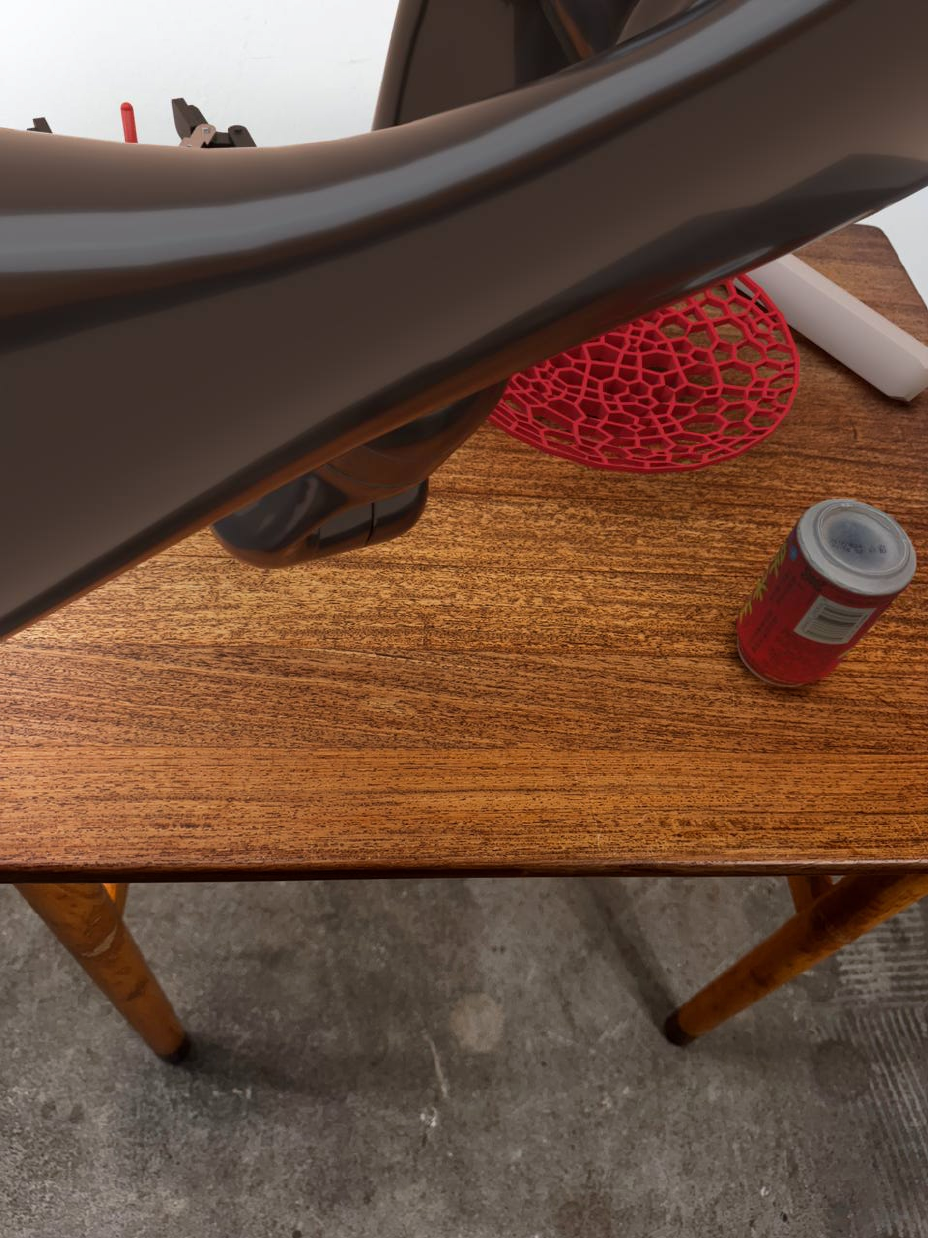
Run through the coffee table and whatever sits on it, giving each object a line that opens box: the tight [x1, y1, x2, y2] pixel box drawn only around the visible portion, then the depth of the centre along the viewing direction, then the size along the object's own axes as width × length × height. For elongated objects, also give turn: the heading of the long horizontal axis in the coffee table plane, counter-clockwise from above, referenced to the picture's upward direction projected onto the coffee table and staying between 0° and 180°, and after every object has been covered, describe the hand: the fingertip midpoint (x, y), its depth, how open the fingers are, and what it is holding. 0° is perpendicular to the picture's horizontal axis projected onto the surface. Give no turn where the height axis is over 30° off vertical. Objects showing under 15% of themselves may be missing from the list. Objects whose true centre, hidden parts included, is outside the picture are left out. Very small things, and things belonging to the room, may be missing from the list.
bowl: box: [486, 274, 801, 475], centre depth 73 cm, size 29×30×5 cm
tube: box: [732, 253, 928, 402], centre depth 80 cm, size 5×5×25 cm
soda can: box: [736, 498, 918, 688], centre depth 57 cm, size 7×7×12 cm
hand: (111, 122), depth 58 cm, fingers open, 8 cm apart
